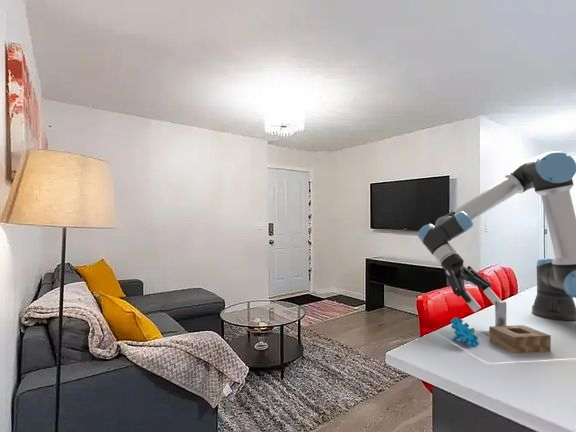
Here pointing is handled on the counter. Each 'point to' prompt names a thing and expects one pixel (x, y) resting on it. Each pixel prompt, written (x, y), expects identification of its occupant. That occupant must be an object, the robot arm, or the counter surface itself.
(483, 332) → the mat
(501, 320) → the peg
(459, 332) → the gear
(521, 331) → the hole block
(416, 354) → the counter surface
